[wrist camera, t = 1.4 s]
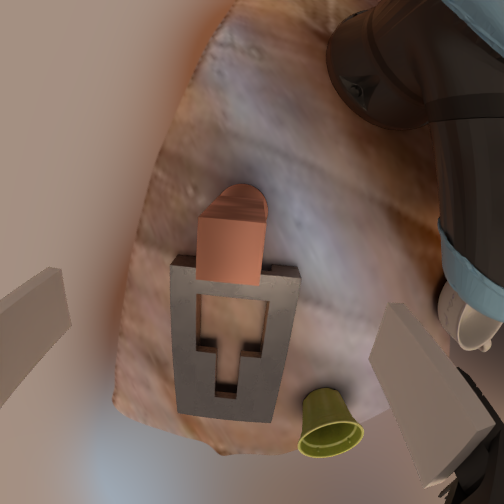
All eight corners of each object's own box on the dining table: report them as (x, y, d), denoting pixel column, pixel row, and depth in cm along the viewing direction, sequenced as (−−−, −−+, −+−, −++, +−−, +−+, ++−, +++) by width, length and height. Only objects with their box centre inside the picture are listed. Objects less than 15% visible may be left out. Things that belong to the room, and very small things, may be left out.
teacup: (425, 273, 34) (457, 300, 26) (480, 245, 33) (515, 264, 25) (431, 347, 38) (454, 378, 30) (480, 319, 37) (507, 343, 29)
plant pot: (345, 371, 39) (360, 413, 31) (354, 406, 42) (367, 445, 33) (285, 390, 40) (289, 434, 32) (301, 423, 43) (306, 463, 35)
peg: (270, 186, 31) (281, 211, 17) (264, 236, 33) (270, 298, 19) (218, 181, 31) (185, 202, 17) (214, 231, 33) (183, 289, 18)
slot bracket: (297, 266, 34) (301, 278, 31) (270, 407, 41) (270, 423, 38) (177, 254, 34) (169, 265, 30) (181, 397, 41) (177, 412, 38)
